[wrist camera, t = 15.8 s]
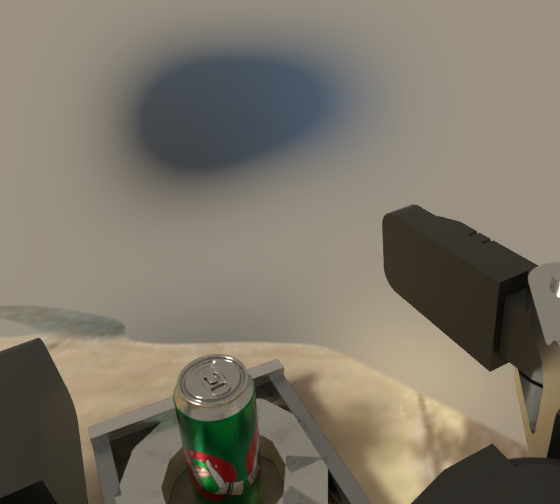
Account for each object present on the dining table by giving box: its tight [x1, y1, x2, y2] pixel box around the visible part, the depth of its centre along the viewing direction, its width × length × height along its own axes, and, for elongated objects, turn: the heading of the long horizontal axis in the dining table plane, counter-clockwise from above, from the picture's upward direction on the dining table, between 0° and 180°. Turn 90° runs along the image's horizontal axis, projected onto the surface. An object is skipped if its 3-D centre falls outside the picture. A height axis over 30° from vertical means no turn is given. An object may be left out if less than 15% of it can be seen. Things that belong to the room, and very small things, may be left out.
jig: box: [88, 359, 371, 504], centre depth 36 cm, size 16×16×4 cm
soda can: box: [173, 354, 264, 504], centre depth 34 cm, size 5×5×12 cm
